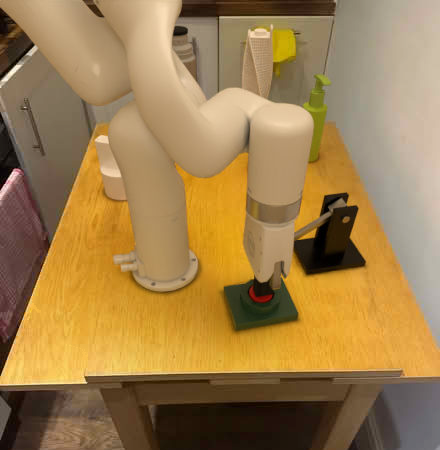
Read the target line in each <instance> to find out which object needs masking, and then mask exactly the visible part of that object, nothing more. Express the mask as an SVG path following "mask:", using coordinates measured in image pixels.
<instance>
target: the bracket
mask: <svg viewBox="0 0 440 450" xmlns="http://www.w3.org/2000/svg"><path fill="white" fill-rule="evenodd" d="M349 197H350V194H349V193H348V192H347V191H346V192H339V193H338V192H337V193H329V194H324V195H323V198H322V199H323V200H322V204H321V208H320V212H319V217H321V216H322V215H324V214H326V213H327V212H329V211H330V210H329V208H328V206H329V205H331V204H333V203H334V202H336V201H337V200H339V199H341V198H342V199H343V200H344V202H345V203H346V205H347V204H348V201H349ZM359 209H360V208H359V206H358V205H357V204H355V205H354V204H353V205H347V206H346V207H338V208H333V212H332V215H331V219H330V220H329V221H327V222H326V223H324V224H322V225H321V226H319V227H318V228H316V229H315V230H316V231H315V234H314V236H313V237H308V238H299V239H298V240H296V241H295V244H294V246H293V253H295V256H296V258H297V259H298V261H299V263H300V266H301V267H302V269H303V271H304V273H305V275H306V276H310V275H315V274H316V275H318V274H322V273H323V274H324V273H330V272H335V271H341V270H347V269H355V268H360V267H365V265H366V263H367V261H366V260H365V258H364V256H363V255H362V253H361V252H360V251H359V249H358V247H357V246H356V245H355V243H354V242H353V240H352V239H351V234H352V231H353V228H354V226H355V222H356V219H357V215H358V212H359ZM319 217H318V218H319Z"/></svg>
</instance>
